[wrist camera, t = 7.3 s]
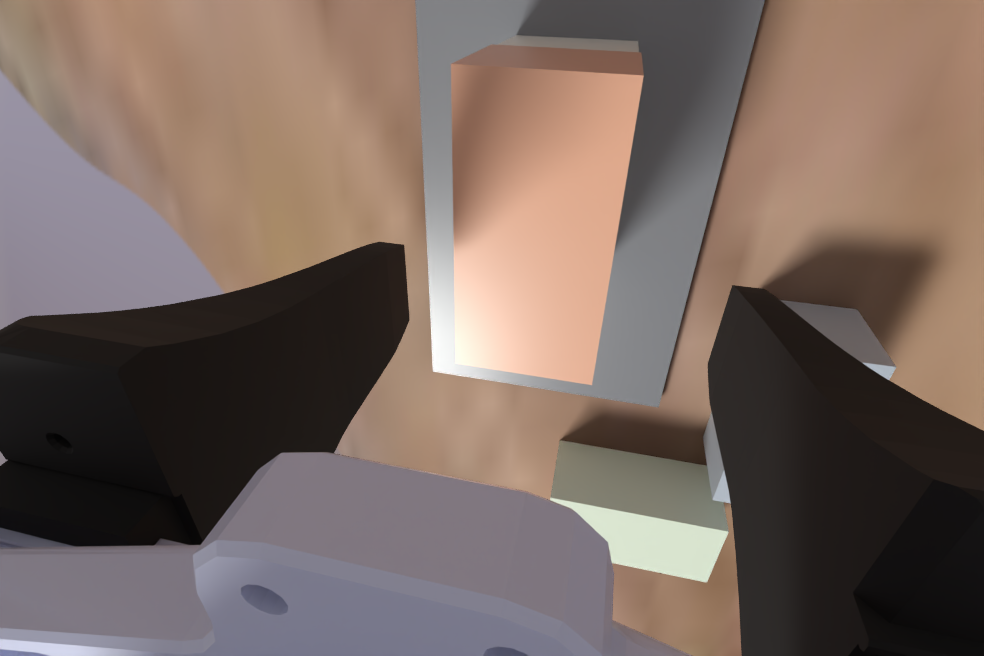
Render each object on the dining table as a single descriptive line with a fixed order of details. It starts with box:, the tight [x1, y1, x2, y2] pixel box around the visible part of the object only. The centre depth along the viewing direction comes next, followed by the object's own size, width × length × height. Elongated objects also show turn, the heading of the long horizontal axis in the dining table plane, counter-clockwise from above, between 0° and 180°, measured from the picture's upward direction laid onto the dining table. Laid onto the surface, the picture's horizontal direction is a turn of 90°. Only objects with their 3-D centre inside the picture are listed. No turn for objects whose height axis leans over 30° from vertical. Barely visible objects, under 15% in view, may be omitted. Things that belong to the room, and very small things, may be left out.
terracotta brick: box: [451, 44, 644, 385], centre depth 15 cm, size 8×4×4 cm, turn 179°
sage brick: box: [550, 440, 729, 582], centre depth 27 cm, size 8×4×4 cm, turn 89°
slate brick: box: [703, 300, 896, 503], centre depth 22 cm, size 8×4×4 cm, turn 179°
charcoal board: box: [415, 0, 765, 407], centre depth 20 cm, size 22×11×1 cm, turn 179°
